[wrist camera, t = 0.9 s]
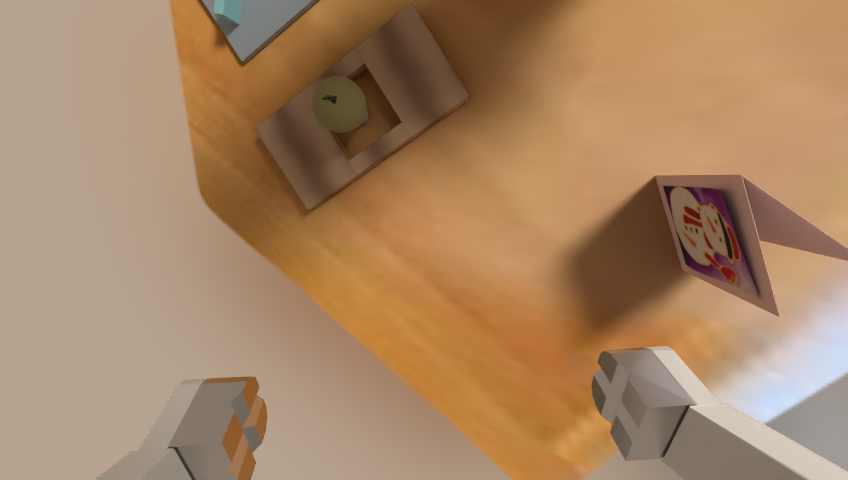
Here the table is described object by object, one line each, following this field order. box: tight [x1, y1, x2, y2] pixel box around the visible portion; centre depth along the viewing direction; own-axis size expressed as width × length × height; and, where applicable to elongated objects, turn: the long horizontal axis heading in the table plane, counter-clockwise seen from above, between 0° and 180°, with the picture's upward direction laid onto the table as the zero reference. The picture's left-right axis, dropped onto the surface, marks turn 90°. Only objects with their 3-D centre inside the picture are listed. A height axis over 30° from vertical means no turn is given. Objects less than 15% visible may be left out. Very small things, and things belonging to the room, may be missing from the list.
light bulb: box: [312, 76, 369, 133], centre depth 42 cm, size 6×6×10 cm
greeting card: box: [655, 175, 848, 317], centre depth 35 cm, size 11×7×15 cm, turn 20°
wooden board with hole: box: [255, 3, 470, 210], centre depth 46 cm, size 24×12×2 cm, turn 123°
